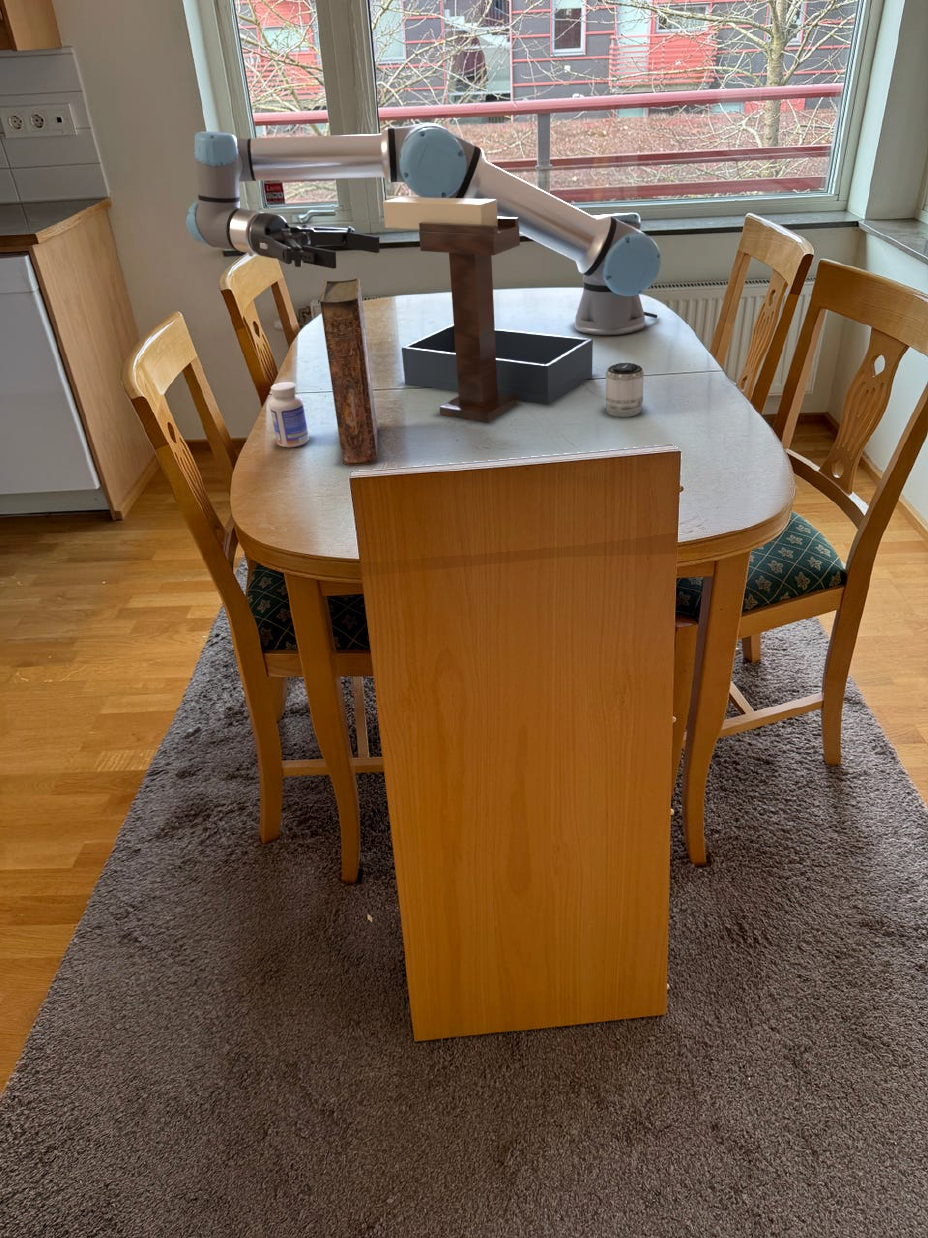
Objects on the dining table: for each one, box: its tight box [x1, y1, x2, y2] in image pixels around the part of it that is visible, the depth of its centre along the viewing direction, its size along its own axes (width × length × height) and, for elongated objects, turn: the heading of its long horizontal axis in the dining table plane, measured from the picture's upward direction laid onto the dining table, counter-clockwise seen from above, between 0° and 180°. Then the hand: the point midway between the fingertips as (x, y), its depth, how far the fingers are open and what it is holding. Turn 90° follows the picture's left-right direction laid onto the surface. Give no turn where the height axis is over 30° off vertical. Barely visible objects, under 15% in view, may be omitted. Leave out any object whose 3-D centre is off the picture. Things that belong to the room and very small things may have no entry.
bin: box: [401, 323, 594, 406], centre depth 173 cm, size 32×18×7 cm, turn 57°
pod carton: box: [382, 196, 498, 230], centre depth 147 cm, size 19×5×4 cm, turn 57°
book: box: [319, 276, 378, 466], centre depth 144 cm, size 16×6×25 cm, turn 5°
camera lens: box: [605, 362, 645, 418], centre depth 154 cm, size 6×6×8 cm
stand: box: [418, 217, 521, 424], centre depth 153 cm, size 14×10×31 cm
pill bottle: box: [269, 381, 310, 448], centre depth 152 cm, size 5×5×10 cm
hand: (357, 252), depth 161 cm, fingers open, 13 cm apart
